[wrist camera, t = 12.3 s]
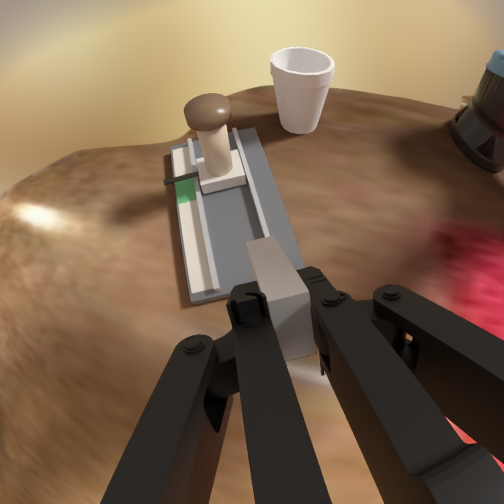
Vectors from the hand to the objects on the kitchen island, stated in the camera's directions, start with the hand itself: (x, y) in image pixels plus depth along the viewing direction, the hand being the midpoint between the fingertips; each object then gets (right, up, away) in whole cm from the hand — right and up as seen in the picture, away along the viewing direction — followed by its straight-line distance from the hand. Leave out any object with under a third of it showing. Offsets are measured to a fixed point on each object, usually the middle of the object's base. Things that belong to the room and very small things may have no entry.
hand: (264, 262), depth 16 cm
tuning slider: (-7, +11, +25) cm, 28 cm away
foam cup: (+7, +23, +32) cm, 40 cm away
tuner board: (-4, +7, +25) cm, 27 cm away
